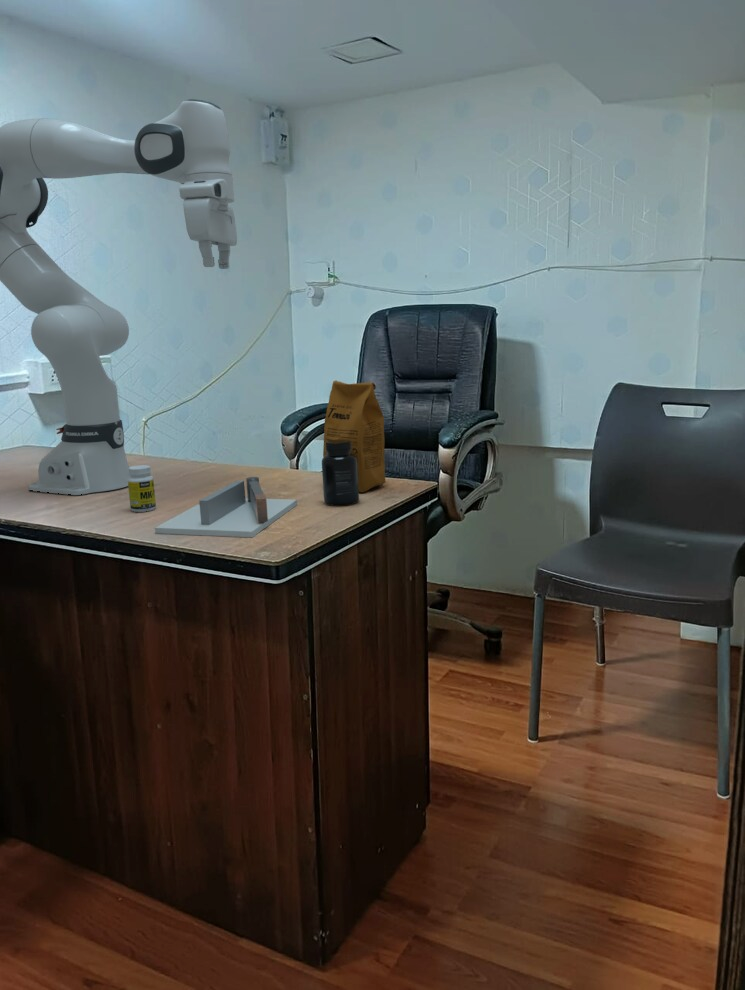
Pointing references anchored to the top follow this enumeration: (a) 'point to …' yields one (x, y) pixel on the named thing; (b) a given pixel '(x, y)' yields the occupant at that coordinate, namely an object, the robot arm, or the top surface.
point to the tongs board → (226, 514)
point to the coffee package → (358, 429)
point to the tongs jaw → (258, 501)
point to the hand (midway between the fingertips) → (216, 268)
